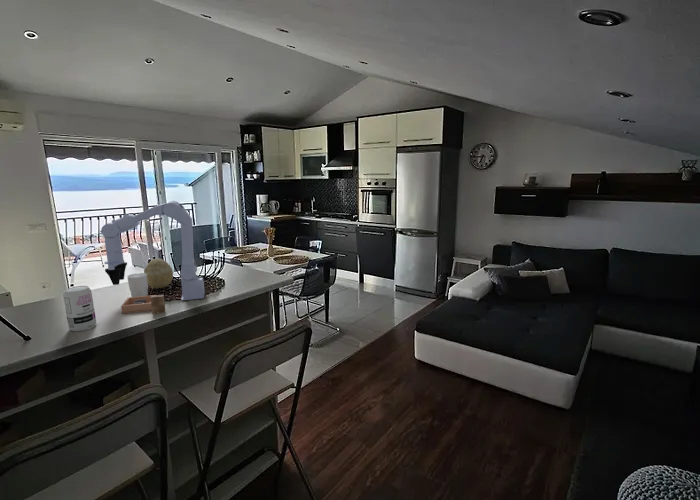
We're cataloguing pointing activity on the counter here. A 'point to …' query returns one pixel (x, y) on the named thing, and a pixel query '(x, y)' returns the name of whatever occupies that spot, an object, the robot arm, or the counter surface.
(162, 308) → the tall brown plank
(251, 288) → the counter surface
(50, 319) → the counter surface
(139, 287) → the white cup
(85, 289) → the supplement can
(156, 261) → the fossilized egg
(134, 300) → the shallow square frame box
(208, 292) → the counter surface
